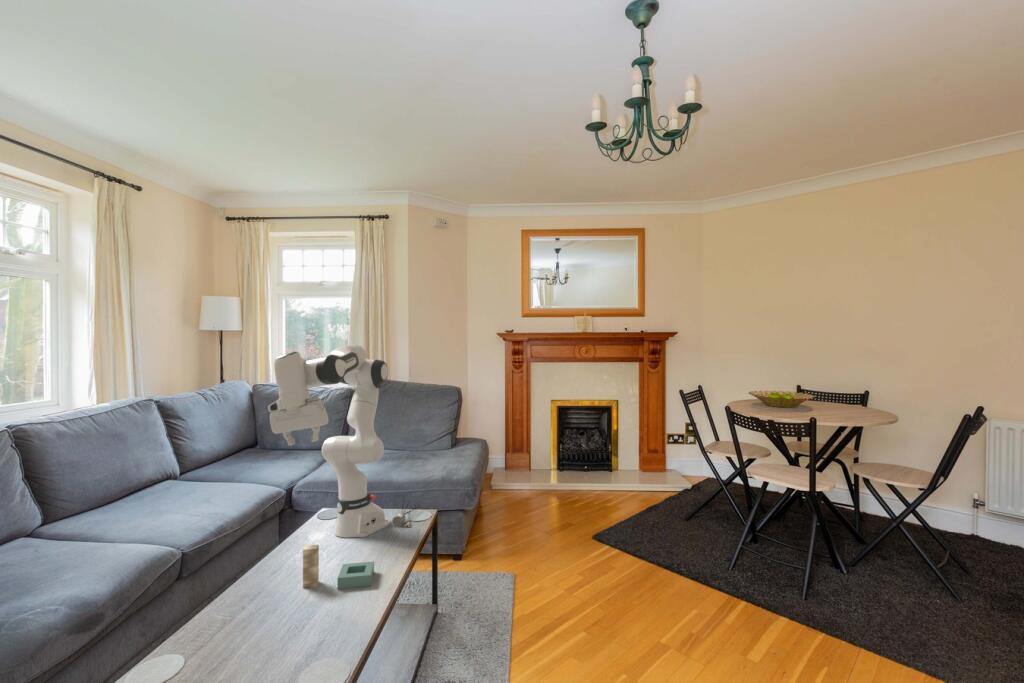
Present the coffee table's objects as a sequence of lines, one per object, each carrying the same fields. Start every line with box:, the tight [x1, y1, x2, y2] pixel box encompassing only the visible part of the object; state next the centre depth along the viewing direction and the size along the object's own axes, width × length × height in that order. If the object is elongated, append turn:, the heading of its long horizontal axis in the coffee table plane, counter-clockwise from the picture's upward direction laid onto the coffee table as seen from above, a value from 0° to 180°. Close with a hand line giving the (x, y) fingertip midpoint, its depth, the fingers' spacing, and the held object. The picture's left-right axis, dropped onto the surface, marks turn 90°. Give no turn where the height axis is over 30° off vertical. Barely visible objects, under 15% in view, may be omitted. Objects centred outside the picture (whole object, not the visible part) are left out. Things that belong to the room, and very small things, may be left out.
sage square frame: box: [337, 561, 375, 590], centre depth 145 cm, size 10×9×4 cm
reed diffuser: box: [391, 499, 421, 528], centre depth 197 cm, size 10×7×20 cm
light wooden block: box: [302, 544, 320, 589], centre depth 143 cm, size 4×3×12 cm
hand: (303, 443), depth 145 cm, fingers open, 8 cm apart
